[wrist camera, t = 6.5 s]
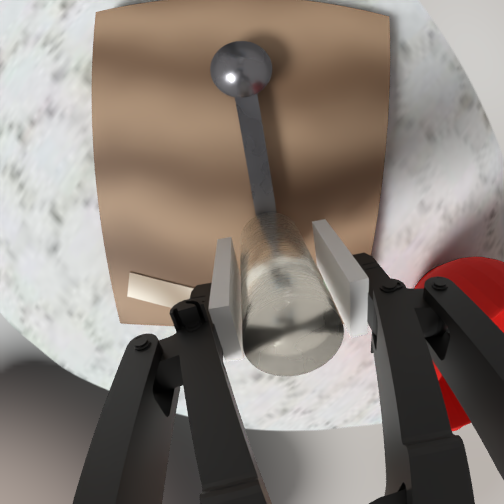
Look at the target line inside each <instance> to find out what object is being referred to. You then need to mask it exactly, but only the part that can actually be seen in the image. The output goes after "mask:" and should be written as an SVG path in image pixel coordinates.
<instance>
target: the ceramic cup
mask: <svg viewBox="0 0 504 504" xmlns="http://www.w3.org/2000/svg"><path fill="white" fill-rule="evenodd" d="M436 276H439V277H440V276H441V277H445V278H448V279H450V280H451V281H453V282H454V283H455V284H456V285H457V286H458V287H459V288H460V289H461V290H462V291H463V292H464V293H465V294H466V295H467V296H468V297H469V298H470V299H471V300H472V301H473V302H474V303H475V304H476V305H477V306H478V307H479V308H480V309H481V310H482V311H483V312H484V313H485V314H486V315H487V316H488V317H489V318H490V319H491V320H492V321H493V322H494V323H495V324H496V325H497V326H498V327H499V329H500V330H501V331H502V332H503V333H504V262H502V261H499V260H496V259H490V258H485V257H467V258H460V259H456V260H454V261H451V262H448V263H445V264H443V265H440V266H437V267H436V268H434V269H432V270H431V271H429V272H428V273H427V274H426V275H425V276H424V277H423V278H422V279H421V280H420V281H419V282H418V284H417V285H416V286H415V288H414V289H419V288H424V283H425V281H426V280H427V279H429V278H431V277H436ZM432 361H433V360H432ZM433 364H434V368H435V371H436V374H437V378H438V381H439V384H440V388H441V392H442V395H443V399H444V403H445V406H446V410H447V414H448V418H449V422H450V427H451V430H452V431H456V430H458V429H460V428H461V427H462V426H464V425H467V424H469V423H471V421H470V419H469V418H468V416H467V414H466V413H465V411H464V409H463V408H462V406H461V404H460V403H459V401H458V399H457V398H456V396H455V395H454V393H453V391H452V390H451V388H450V387H449V385H448V383H447V382H446V380H445V379H444V377H443V376H442V374H441V373H440V371H439V370H438V368H437V366H436V365H435V363H434V362H433Z"/></svg>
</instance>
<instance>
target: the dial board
mask: <svg viewBox="0 0 504 504" xmlns="http://www.w3.org/2000/svg"><path fill="white" fill-rule="evenodd" d="M235 41H248V42H252V43H254V44H257V45H258V46H260V47H261V48H263V49H264V50H265V51H266V53H267V54H268V55H269V57H270V60H271V63H272V75H271V79H270V81H269V83H268V84H267V86H266V87H265V88H264V89H263V90H262V91H261V92H259V93H258V94H257V96H258V102H259V107H260V113H261V119H262V125H263V131H264V137H265V143H266V149H267V155H268V161H269V167H270V174H271V180H272V186H273V193H274V199H275V206H276V213H280V214H283V215H285V216H287V217H289V218H290V219H291V220H292V221H293V222H294V223H295V224H296V226H297V227H298V229H299V231H300V233H301V235H302V237H303V239H304V242H305V244H306V246H307V248H308V250H309V252H310V254H311V256H312V258H313V260H314V262H315V264H316V266H317V262H316V252H315V244H314V235H313V227H312V221H318V220H323V219H326V221H327V222H328V223H329V225H330V226H331V227H332V229H333V230H334V231H335V233H336V234H337V235H338V237H339V238H340V239H341V241H342V242H343V243H344V245H345V246H346V247H347V249H348V250H349V251H350V253H351V254H352V255H354V254H359V253H366V254H368V255H370V256H371V252H372V247H373V241H374V235H375V229H376V223H377V216H378V209H379V202H380V195H381V187H382V179H383V170H384V161H385V151H386V139H387V126H388V110H389V88H390V23H389V16H385V15H381V14H377V13H373V12H369V11H365V10H360V9H355V8H350V7H345V6H339V5H334V4H327V3H321V2H314V1H306V0H162V1H154V2H147V3H140V4H134V5H128V6H123V7H118V8H113V9H108V10H103V11H99V12H96V17H95V28H94V41H93V59H92V129H93V149H94V163H95V175H96V186H97V195H98V204H99V212H100V219H101V226H102V233H103V240H104V246H105V252H106V257H107V263H108V268H109V274H110V279H111V284H112V289H113V293H114V298H115V302H116V307H117V311H118V315H119V319H120V323H122V324H140V325H161V326H174V324H173V321H172V319H171V316H170V314H169V313H170V309H171V308H172V307H173V306H174V305H175V304H177V303H178V302H181V301H183V300H187V299H190V295H191V291H192V290H193V289H194V288H195V287H196V285H200V284H206V283H212V277H213V269H214V262H215V255H216V247H217V240H218V239H222V238H227V237H232V242H233V246H234V250H235V255H236V259H237V263H238V268H239V272H240V276H241V269H240V236H241V232H242V230H243V228H244V226H245V225H246V224H247V222H248V221H250V220H251V219H252V218H253V217H255V216H256V215H255V209H254V203H253V197H252V192H251V186H250V180H249V174H248V169H247V163H246V158H245V152H244V146H243V141H242V135H241V130H240V124H239V118H238V113H237V107H236V102H235V98H233V97H230V96H227V95H225V94H224V93H222V92H221V91H220V90H219V89H218V88H217V86H216V85H215V84H214V82H213V80H212V78H211V73H210V66H211V61H212V59H213V57H214V55H215V54H216V52H217V51H218V50H219V49H220V48H221V47H223V46H224V45H226V44H228V43H231V42H235ZM317 268H318V267H317ZM318 271H319V269H318ZM319 273H320V271H319ZM320 275H321V273H320ZM321 277H322V275H321ZM322 279H323V277H322ZM323 281H324V279H323ZM324 283H325V281H324ZM325 285H326V284H325ZM326 288H327V286H326ZM327 290H328V288H327ZM328 292H329V290H328ZM329 294H330V292H329ZM330 296H331V294H330ZM331 298H332V296H331ZM332 301H333V298H332ZM333 303H334V301H333ZM334 305H335V303H334ZM335 307H336V305H335ZM336 309H337V307H336ZM337 312H338V314H339V311H338V309H337ZM339 316H340V314H339ZM340 318H341V316H340ZM341 320H342V318H341ZM342 323H343V324H344V322H343V320H342Z"/></svg>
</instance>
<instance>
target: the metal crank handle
mask: <svg viewBox="0 0 504 504" xmlns="http://www.w3.org/2000/svg"><path fill="white" fill-rule="evenodd" d="M210 73H211V78H212V80H213V82H214V84H215V85H216V86H217V88H218V89H219V90H220V91H221V92H222V93H224V94H225V95H227V96H230V97H233V98H235V102H236V107H237V113H238V118H239V124H240V130H241V135H242V141H243V146H244V152H245V158H246V163H247V169H248V174H249V180H250V186H251V192H252V197H253V203H254V209H255V215H256V216H255V217H253V218H252V219H251V220H250V221H248V222H247V224H246V225H245V226H244V228H243V230H242V232H241V236H240V269H241V309H242V344H243V350H244V353H245V355H246V357H247V359H248V360H249V361H250V363H252V364H253V365H254V366H255V367H256V368H258V369H259V370H261V371H263V372H266V373H268V374H272V375H277V376H295V375H301V374H305V373H308V372H311V371H313V370H315V369H317V368H319V367H321V366H322V365H324V364H325V363H327V362H328V361H329V360H330V359H331V358H332V357H333V356H334V355H335V354H336V352H337V351H338V349H339V347H340V346H341V343H342V340H343V335H344V328H343V323H342V320H341V318H340V316H339V314H338V312H337V309H336V307H335V305H334V303H333V301H332V298H331V296H330V294H329V292H328V290H327V288H326V285H325V283H324V281H323V279H322V277H321V275H320V273H319V271H318V268H317V266H316V264H315V262H314V260H313V258H312V256H311V254H310V252H309V250H308V248H307V246H306V244H305V242H304V239H303V237H302V235H301V233H300V231H299V229H298V227H297V226H296V224H295V223H294V222H293V221H292V220H291V219H290V218H289V217H287V216H285V215H283V214H280V213H276V206H275V199H274V193H273V186H272V180H271V174H270V167H269V161H268V155H267V149H266V143H265V137H264V131H263V125H262V119H261V113H260V107H259V102H258V96H257V94H258V93H259V92H261V91H262V90H263V89H264V88H265V87H266V86H267V84H268V83H269V81H270V79H271V75H272V63H271V60H270V57H269V55H268V54H267V53H266V51H265V50H264V49H263V48H261V47H260V46H258V45H257V44H254V43H252V42H248V41H235V42H231V43H228V44H226V45H224V46H223V47H221V48H220V49H219V50H218V51H217V52H216V54H215V55H214V57H213V59H212V61H211V66H210Z"/></svg>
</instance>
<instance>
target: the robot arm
mask: <svg viewBox="0 0 504 504" xmlns="http://www.w3.org/2000/svg"><path fill="white" fill-rule="evenodd" d="M312 227H313V235H314V244H315V252H316V262H317V267H318V269H319V271H320V273H321V275H322V277H323V279H324V281H325V284H326V286H327V288H328V290H329V292H330V294H331V296H332V298H333V301H334V303H335V305H336V307H337V309H338V311H339V314H340V316H341V318H342V320H343V322H344V325H345V327H346V329H347V331H348V333H349V336H350V338H354V337H358V336H362V335H366V334H368V324H369V326H370V328H371V330H372V341H371V353H373V352H374V358H375V365H376V372H377V380H378V387H379V396H380V404H381V414H382V424H383V435H384V448H385V463H386V490H385V496H383V497H380V498H378V499H376V500H375V501H373V502H371V503H369V504H475V502H474V495H473V489H472V483H471V477H470V472H469V466H468V462H467V456H466V452H465V447H464V444H463V441H462V439H461V437H460V436H459V435H454V434H453V433H452V430H451V427H450V422H449V418H448V414H447V410H446V406H445V403H444V399H443V395H442V392H441V388H440V384H439V381H438V378H437V374H436V371H435V368H434V364H433V362H434V363H435V365H436V366H437V368H438V370H439V371H440V373H441V374H442V376H443V377H444V379H445V380H446V382H447V383H448V385H449V387H450V388H451V390H452V391H453V393H454V395H455V396H456V398H457V399H458V401H459V403H460V404H461V406H462V408H463V409H464V411H465V413H466V414H467V416H468V418H469V419H470V421H471V423H472V424H473V426H474V428H475V429H476V431H477V433H478V435H479V436H480V438H481V440H482V442H483V443H484V445H485V447H486V449H487V451H488V453H489V454H490V456H491V458H492V460H493V462H494V464H495V466H496V468H497V470H498V471H499V473H500V474H501V476H502V478H503V479H504V333H503V332H502V331H501V330H500V329H499V327H498V326H497V325H496V324H495V323H494V322H493V321H492V320H491V319H490V318H489V317H488V316H487V315H486V314H485V313H484V312H483V311H482V310H481V309H480V308H479V307H478V306H477V305H476V304H475V303H474V302H473V301H472V300H471V299H470V298H469V297H468V296H467V295H466V294H465V293H464V292H463V291H462V290H461V289H460V288H459V287H458V286H457V285H456V284H455V283H454V282H453V281H451V280H450V279H448V278H445V277H441V276H440V277H439V276H436V277H431V278H429V279H427V280H426V281H425V283H424V288H419V289H408V288H406V286H405V285H404V283H403V282H401V281H399V280H396V279H390V278H389V276H388V275H387V274H386V273H385V271H384V270H383V269H382V268H381V267H380V265H379V264H378V263H377V262H376V260H375V259H374V258H373V257H372V256H370V255H368V254H366V253H359V254H354V255H352V254H351V253H350V251H349V250H348V249H347V247H346V246H345V245H344V243H343V242H342V241H341V239H340V238H339V237H338V235H337V234H336V233H335V231H334V230H333V229H332V227H331V226H330V225H329V223H328V222H327V221H326V219H323V220H318V221H312ZM169 314H170V316H171V319H172V321H173V324H174V326H175V329H176V334H174V335H172V336H170V337H168V338H165V339H162V340H158V338H157V337H156V336H155V335H153V334H143V335H139V336H137V337H135V338H134V339H133V340H131V341H130V342H129V344H128V345H127V348H126V350H125V352H124V355H123V357H122V360H121V362H120V365H119V367H118V370H117V373H116V375H115V378H114V380H113V383H112V386H111V388H110V391H109V394H108V396H107V399H106V402H105V404H104V407H103V410H102V413H101V416H100V418H99V421H98V424H97V427H96V430H95V433H94V436H93V439H92V442H91V445H90V448H89V451H88V454H87V457H86V460H85V463H84V466H83V470H82V473H81V476H80V480H79V483H78V486H77V490H76V494H75V497H74V501H73V504H162V499H163V492H164V484H165V478H166V471H167V464H168V457H169V451H170V445H171V438H172V432H173V426H174V420H175V414H176V409H177V403H178V397H179V392H180V386H182V385H183V386H184V392H185V399H186V405H187V411H188V417H189V422H190V428H191V433H192V439H193V444H194V449H195V455H196V460H197V464H198V469H199V474H200V479H201V482H202V488H203V490H202V491H203V492H202V493H201V494H200V504H272V503H271V500H270V497H269V495H268V492H267V490H266V487H265V484H264V482H263V479H262V476H261V473H260V471H259V468H258V465H257V462H256V460H255V457H254V454H253V451H252V448H251V446H250V443H249V440H248V437H247V434H246V431H245V428H244V425H243V422H242V419H241V416H240V413H239V410H238V407H237V404H236V401H235V398H234V395H233V392H232V388H231V385H230V382H229V379H228V376H227V373H226V369H225V366H224V364H223V355H224V358H225V361H226V362H230V361H236V360H243V359H244V350H243V344H242V309H241V276H240V272H239V268H238V263H237V259H236V255H235V250H234V246H233V242H232V237H227V238H222V239H218V240H217V247H216V255H215V262H214V269H213V277H212V283H206V284H200V285H196V287H195V288H194V289H193V290H192V291H191V295H190V299H187V300H183V301H181V302H178V303H177V304H175V305H174V306H173V307H172V308H171V309H170V313H169ZM432 360H433V361H432Z"/></svg>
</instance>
